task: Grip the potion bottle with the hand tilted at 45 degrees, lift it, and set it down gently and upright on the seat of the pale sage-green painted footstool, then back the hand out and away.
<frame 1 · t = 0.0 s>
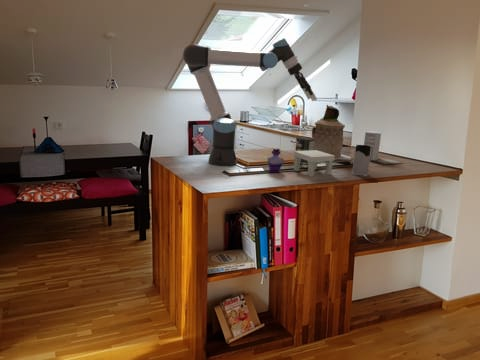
hand: (312, 99, 253), 36 cm above the countertop, tool tilted 35°, fingers open, 13 cm apart
potion bottle: (274, 171, 235), on the countertop
supplement box: (369, 158, 286), on the countertop
glass holder: (362, 173, 243), on the countertop
coffee can: (303, 162, 262), on the countertop
footstool: (312, 172, 238), on the countertop
cookie jar: (325, 156, 284), on the countertop
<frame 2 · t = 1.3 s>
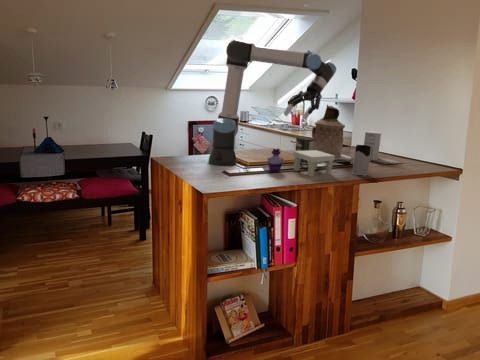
hand: (294, 116, 236), 28 cm above the countertop, tool tilted 45°, fingers open, 13 cm apart
nothing on the countertop moved.
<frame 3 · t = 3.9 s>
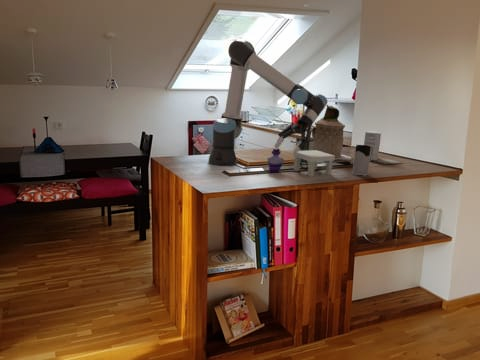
hand: (285, 149, 234), 11 cm above the countertop, tool tilted 45°, fingers open, 13 cm apart
nothing on the countertop moved.
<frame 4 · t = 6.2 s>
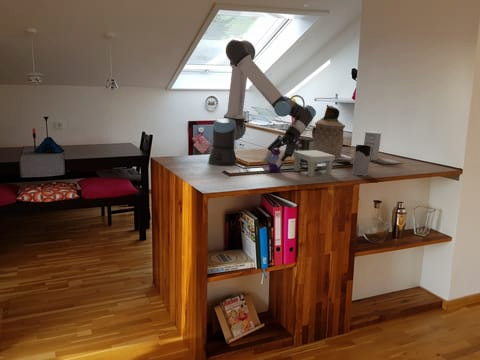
hand: (270, 163, 231), 5 cm above the countertop, tool tilted 45°, fingers closed on potion bottle, 8 cm apart
potion bottle: (274, 171, 235), on the countertop, touching gripper
everything else where it was.
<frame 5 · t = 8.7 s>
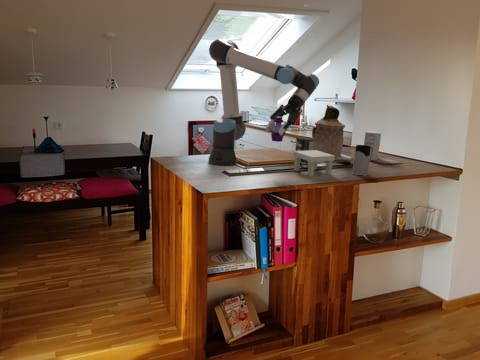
hand: (273, 131, 227), 21 cm above the countertop, tool tilted 45°, fingers closed on potion bottle, 8 cm apart
potion bottle: (277, 141, 231), point 16 cm above the countertop, touching gripper
everything else where it was.
when the fingers open (16 cm above the countertop, at t = 11.5 s): potion bottle drops 2 cm, resting on footstool.
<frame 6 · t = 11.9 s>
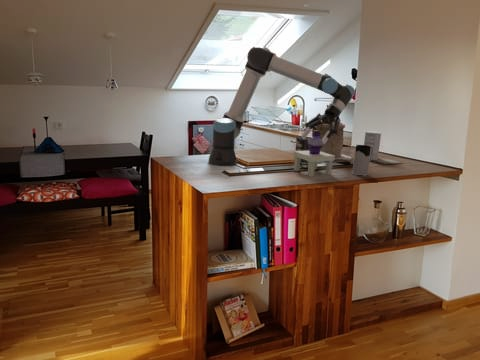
hand: (312, 140, 232), 17 cm above the countertop, tool tilted 45°, fingers open, 13 cm apart
potion bottle: (314, 153, 236), point 10 cm above the countertop, touching footstool
everything else where it was.
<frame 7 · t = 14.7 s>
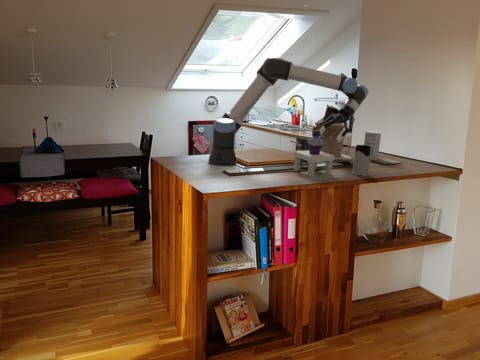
hand: (327, 138, 240), 17 cm above the countertop, tool tilted 45°, fingers open, 13 cm apart
nothing on the countertop moved.
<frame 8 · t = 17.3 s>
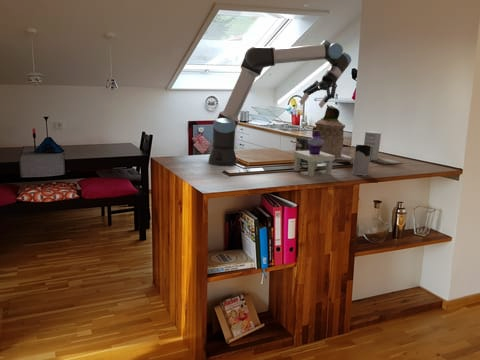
hand: (310, 104, 241), 34 cm above the countertop, tool tilted 45°, fingers open, 13 cm apart
nothing on the countertop moved.
at the end: potion bottle inside the target area on the footstool (0.2 cm from its centre), point 9.8 cm above the footstool's base; potion bottle tilted 0°; the gripper is holding nothing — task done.
